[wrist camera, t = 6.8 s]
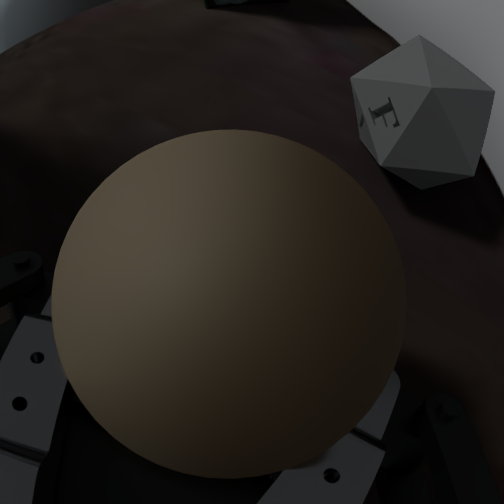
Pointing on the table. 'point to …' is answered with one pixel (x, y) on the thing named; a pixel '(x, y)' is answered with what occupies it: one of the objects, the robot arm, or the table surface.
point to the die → (422, 114)
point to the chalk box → (234, 2)
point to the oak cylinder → (229, 304)
